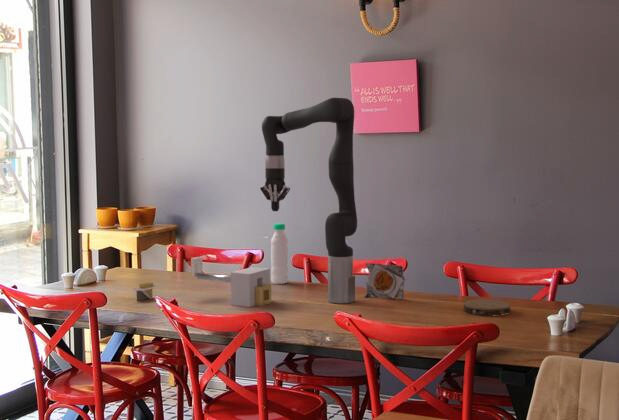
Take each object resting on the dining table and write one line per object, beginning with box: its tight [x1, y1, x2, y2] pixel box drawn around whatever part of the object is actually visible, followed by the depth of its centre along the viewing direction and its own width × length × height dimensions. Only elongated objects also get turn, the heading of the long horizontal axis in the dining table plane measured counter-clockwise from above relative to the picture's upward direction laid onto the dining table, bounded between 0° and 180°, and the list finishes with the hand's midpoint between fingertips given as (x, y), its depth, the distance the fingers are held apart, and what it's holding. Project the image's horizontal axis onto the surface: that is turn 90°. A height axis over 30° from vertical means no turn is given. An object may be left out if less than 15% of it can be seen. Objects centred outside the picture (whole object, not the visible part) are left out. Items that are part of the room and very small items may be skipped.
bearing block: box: [230, 266, 271, 308], centre depth 300 cm, size 8×14×12 cm, turn 151°
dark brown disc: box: [463, 299, 511, 317], centre depth 285 cm, size 16×16×3 cm
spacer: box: [254, 283, 272, 307], centre depth 298 cm, size 2×7×7 cm, turn 151°
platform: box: [132, 281, 157, 302], centre depth 307 cm, size 12×18×7 cm, turn 147°
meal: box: [363, 262, 406, 300], centre depth 308 cm, size 15×4×13 cm, turn 69°
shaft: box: [190, 256, 231, 283], centre depth 306 cm, size 26×5×8 cm, turn 61°
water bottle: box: [270, 223, 289, 285], centre depth 340 cm, size 7×7×25 cm
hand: (275, 211), depth 321 cm, fingers closed
